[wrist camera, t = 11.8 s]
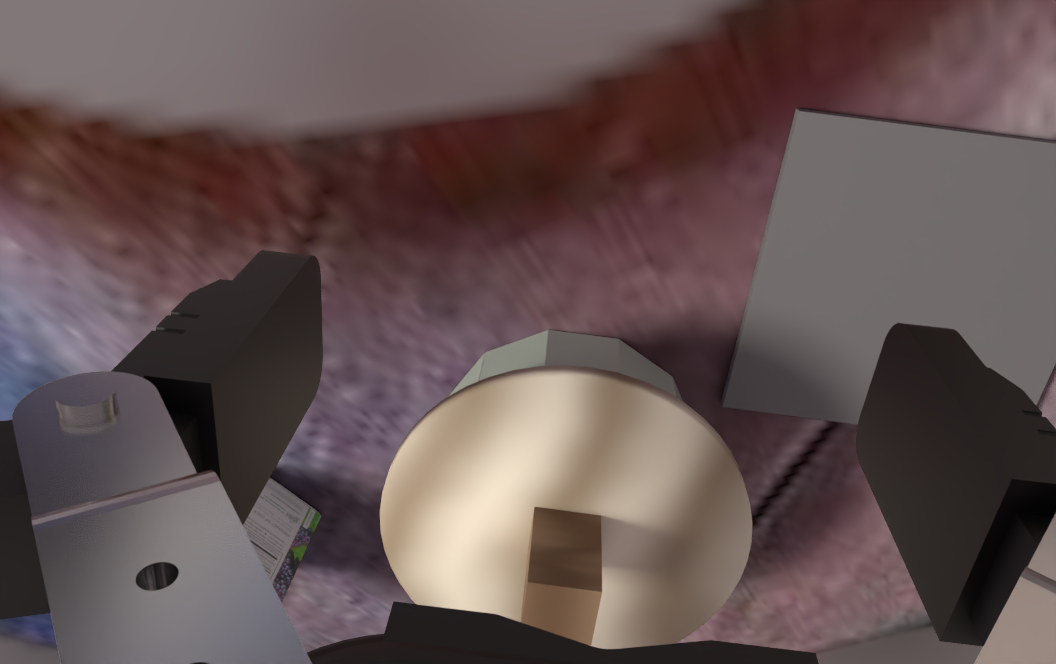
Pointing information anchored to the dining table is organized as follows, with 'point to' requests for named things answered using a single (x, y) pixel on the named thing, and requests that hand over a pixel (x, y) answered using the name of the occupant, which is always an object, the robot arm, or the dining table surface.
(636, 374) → the bowl
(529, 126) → the dining table surface
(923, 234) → the mat
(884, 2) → the dining table surface
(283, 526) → the syrup box
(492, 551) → the lid
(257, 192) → the dining table surface
